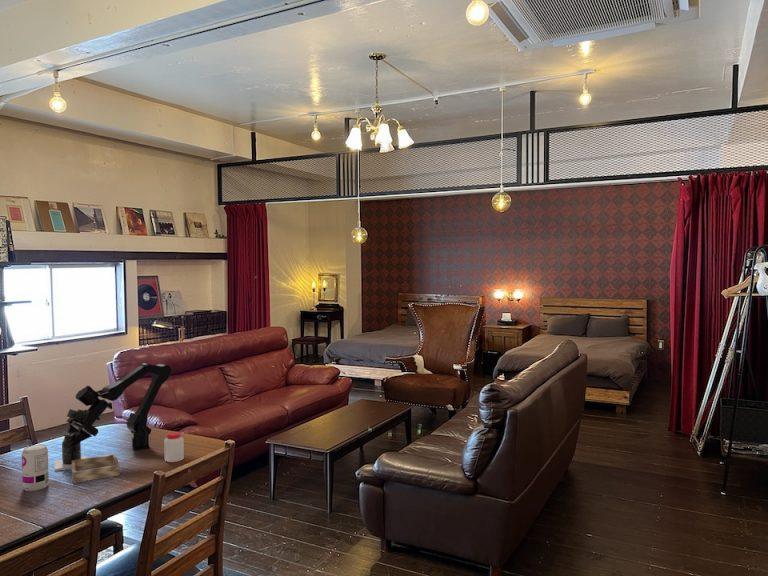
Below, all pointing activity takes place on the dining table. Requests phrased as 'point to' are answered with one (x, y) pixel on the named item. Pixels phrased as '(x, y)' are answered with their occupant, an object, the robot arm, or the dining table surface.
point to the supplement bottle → (70, 448)
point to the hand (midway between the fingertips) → (67, 444)
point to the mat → (61, 466)
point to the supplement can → (35, 467)
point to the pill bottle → (174, 447)
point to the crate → (95, 472)
